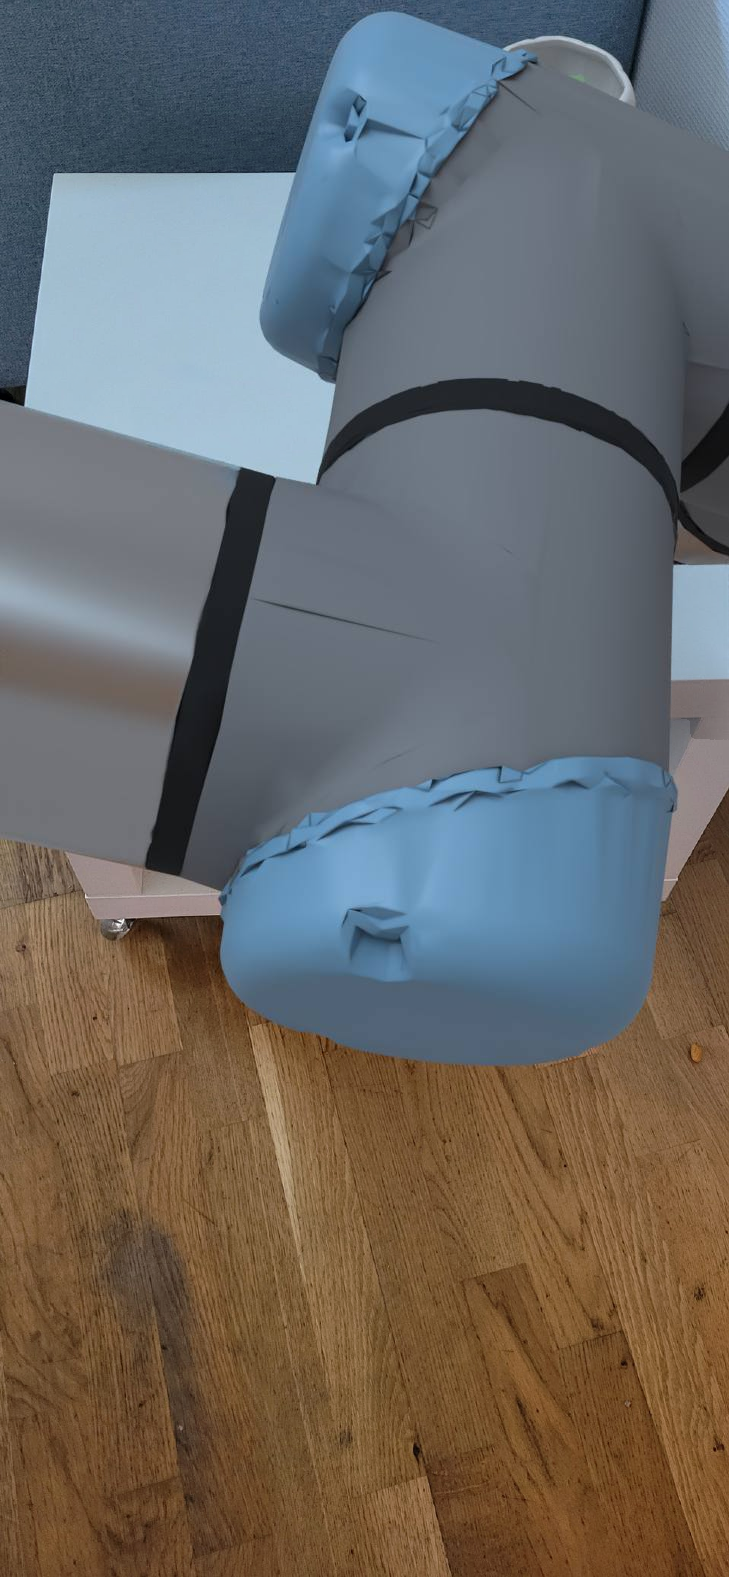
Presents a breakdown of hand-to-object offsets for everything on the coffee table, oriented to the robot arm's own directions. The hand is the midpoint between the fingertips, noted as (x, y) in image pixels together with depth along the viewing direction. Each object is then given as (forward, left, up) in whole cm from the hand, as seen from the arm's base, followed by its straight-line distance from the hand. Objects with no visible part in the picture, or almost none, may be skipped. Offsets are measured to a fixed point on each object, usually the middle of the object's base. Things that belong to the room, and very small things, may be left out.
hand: (490, 500), depth 61 cm
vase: (+14, +35, -17) cm, 41 cm away
